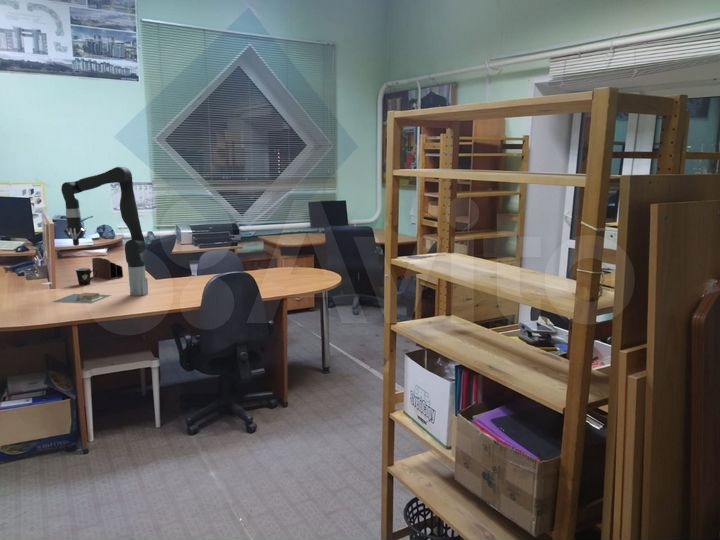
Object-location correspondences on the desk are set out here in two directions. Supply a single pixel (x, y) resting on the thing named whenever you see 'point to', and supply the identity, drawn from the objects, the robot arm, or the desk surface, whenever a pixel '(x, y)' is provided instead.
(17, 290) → the desk surface
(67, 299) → the rubber mat
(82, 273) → the coffee mug
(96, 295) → the birch tile
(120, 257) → the desk surface
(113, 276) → the letter holder
